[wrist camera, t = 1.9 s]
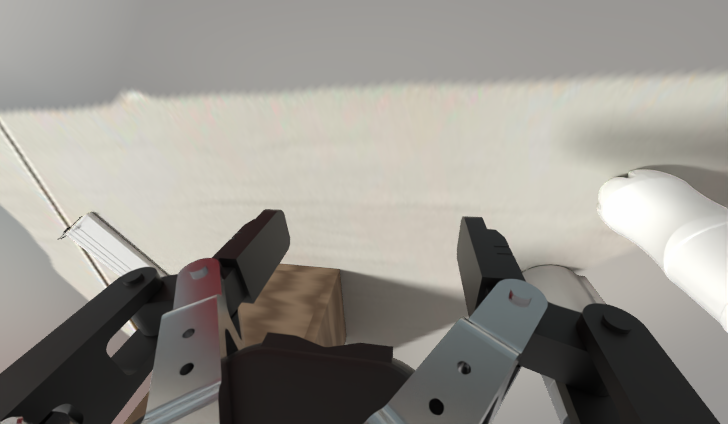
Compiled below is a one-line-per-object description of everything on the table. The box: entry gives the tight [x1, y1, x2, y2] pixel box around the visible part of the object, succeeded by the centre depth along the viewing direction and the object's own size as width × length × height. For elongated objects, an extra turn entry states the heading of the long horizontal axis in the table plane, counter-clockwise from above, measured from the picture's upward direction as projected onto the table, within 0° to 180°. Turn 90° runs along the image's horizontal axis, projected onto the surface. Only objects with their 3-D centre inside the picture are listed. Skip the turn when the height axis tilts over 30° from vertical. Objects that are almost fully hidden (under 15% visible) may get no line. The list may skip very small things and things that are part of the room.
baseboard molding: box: [57, 212, 167, 277], centre depth 54 cm, size 31×3×12 cm
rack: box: [124, 264, 346, 424], centre depth 36 cm, size 16×18×32 cm
